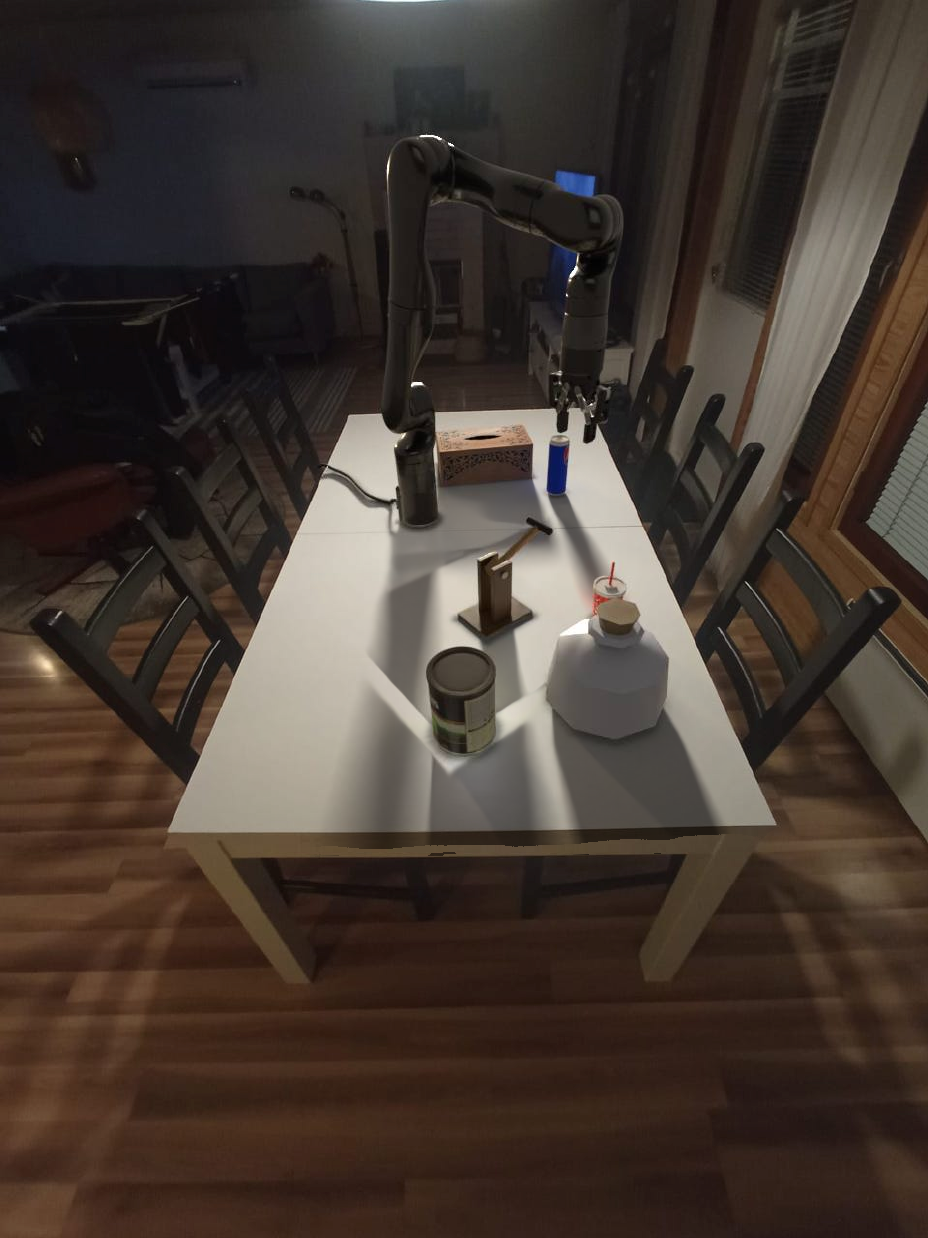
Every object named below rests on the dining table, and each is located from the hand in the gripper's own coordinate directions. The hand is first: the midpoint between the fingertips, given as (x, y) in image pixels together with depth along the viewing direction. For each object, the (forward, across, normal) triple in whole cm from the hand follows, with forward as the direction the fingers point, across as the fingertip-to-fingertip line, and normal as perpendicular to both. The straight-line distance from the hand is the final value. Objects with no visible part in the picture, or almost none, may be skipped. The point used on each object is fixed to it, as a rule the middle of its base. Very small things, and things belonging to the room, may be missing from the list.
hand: (575, 436), depth 106 cm
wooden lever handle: (+16, +4, -18) cm, 24 cm away
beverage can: (+30, -26, +23) cm, 46 cm away
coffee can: (+30, +23, -45) cm, 59 cm away
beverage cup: (+30, +19, -8) cm, 36 cm away
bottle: (+30, +32, -22) cm, 49 cm away
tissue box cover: (+30, -50, +17) cm, 60 cm away
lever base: (+30, +4, -23) cm, 38 cm away
